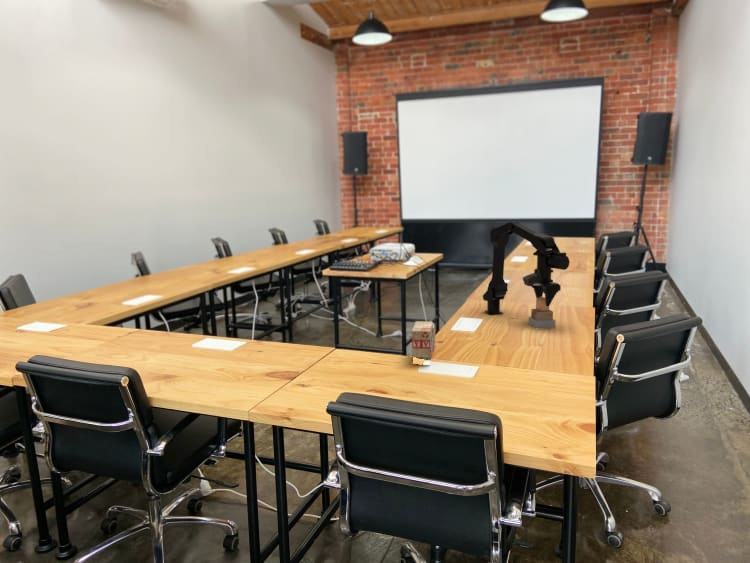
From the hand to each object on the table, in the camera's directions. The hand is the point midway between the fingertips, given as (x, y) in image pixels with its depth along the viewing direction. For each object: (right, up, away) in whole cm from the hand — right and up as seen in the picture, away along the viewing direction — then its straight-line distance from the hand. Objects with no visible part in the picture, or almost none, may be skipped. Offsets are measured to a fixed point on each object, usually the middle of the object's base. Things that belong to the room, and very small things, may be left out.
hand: (543, 304), depth 225 cm
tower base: (0, -9, +2) cm, 10 cm away
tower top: (0, -6, +1) cm, 6 cm away
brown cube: (0, -3, +1) cm, 3 cm away
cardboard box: (-52, -17, -33) cm, 64 cm away
